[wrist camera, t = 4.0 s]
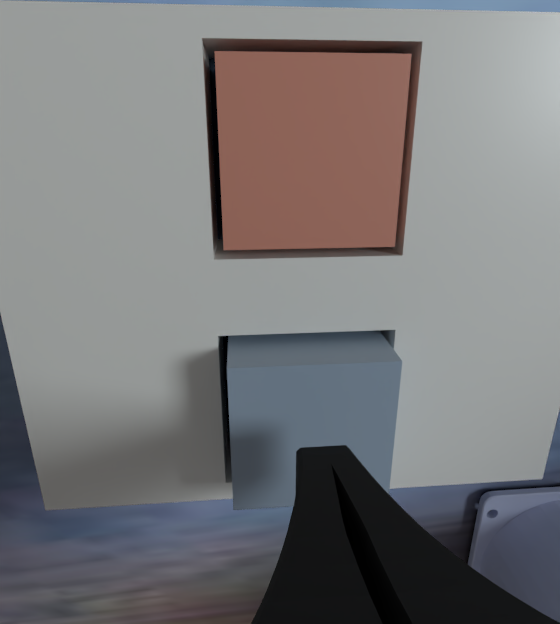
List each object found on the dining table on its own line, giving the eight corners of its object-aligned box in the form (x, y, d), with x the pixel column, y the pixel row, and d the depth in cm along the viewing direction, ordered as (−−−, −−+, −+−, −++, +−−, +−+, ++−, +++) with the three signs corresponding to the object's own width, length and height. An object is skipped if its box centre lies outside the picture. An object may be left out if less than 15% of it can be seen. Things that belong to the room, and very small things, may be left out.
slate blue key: (365, 444, 18) (388, 499, 15) (234, 451, 17) (233, 509, 14) (374, 323, 16) (402, 361, 13) (228, 328, 15) (226, 368, 13)
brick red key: (368, 229, 16) (394, 246, 13) (225, 231, 16) (223, 250, 13) (379, 69, 14) (411, 53, 12) (219, 68, 14) (214, 51, 11)
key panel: (499, 431, 20) (542, 479, 17) (74, 454, 19) (45, 510, 16) (576, 38, 15) (655, 14, 12) (-8, 28, 13) (-72, -2, 11)
